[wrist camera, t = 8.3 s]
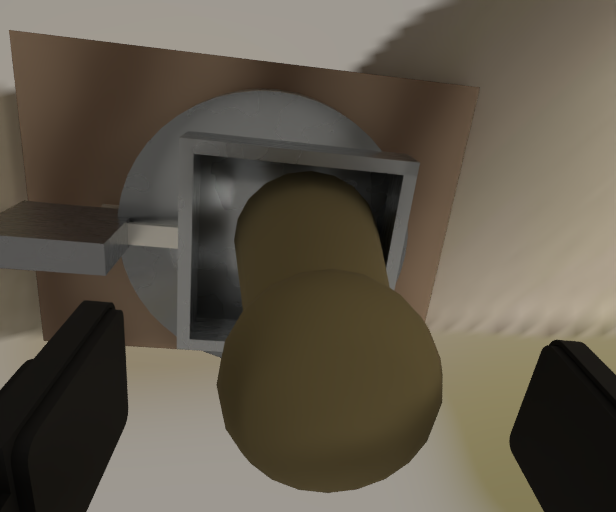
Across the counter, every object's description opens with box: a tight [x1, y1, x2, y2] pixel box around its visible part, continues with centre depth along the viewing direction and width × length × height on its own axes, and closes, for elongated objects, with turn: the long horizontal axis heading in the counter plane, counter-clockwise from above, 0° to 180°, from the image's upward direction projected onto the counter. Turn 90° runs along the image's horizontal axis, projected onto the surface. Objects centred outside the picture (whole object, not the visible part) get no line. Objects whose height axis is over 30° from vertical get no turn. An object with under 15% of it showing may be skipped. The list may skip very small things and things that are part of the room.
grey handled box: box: [0, 89, 420, 358], centre depth 19 cm, size 16×12×5 cm
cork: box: [217, 171, 442, 493], centre depth 15 cm, size 6×6×11 cm
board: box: [9, 30, 480, 349], centre depth 22 cm, size 19×14×1 cm
